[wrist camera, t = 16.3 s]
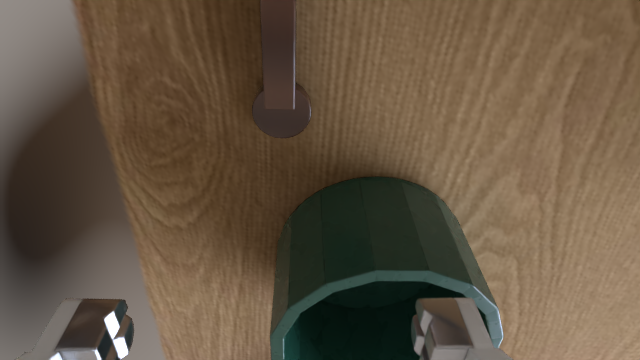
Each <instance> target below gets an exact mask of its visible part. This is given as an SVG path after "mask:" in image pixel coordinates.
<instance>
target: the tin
mask: <svg viewBox="0 0 640 360" xmlns="http://www.w3.org/2000/svg"><path fill="white" fill-rule="evenodd" d="M445 297H452V298H472V299H473V300H474V301H475V304H476V306H477V308H478V311H479V313H480V315H481V318H482V320H483V322H484V325H485V327H486V329H487V332H488V334H489V337H490V339H491V341H492V344H493V346H494V348H499V346H500V344H501V341H502V339H503V330H502V325H501V320H500V315H499V310H498V307H497V305H496V303H495V300H494V298H493V296H492V294H491V292H490V290H489V287H488V285H487V283H486V281H485V279H484V277H483V274H482V272H481V270H480V268H479V266H478V264H477V261H476V259H475V257H474V255H473V253H472V251H471V248H470V246H469V244H468V242H467V240H466V238H465V235H464V233H463V231H462V229H461V227H460V225H459V222H458V220H457V218H456V216H455V215H454V214H453V213H452V212H451V210H450V209H449V208H448V206H447V205H446V204H445V203H444V202H443V201H442V200H441V199H440V198H439V197H438V196H437V195H435V194H434V193H432V192H431V191H429V190H428V189H426V188H424V187H422V186H420V185H417V184H415V183H412V182H409V181H406V180H401V179H396V178H389V177H364V178H357V179H351V180H347V181H343V182H339V183H337V184H334V185H331V186H329V187H327V188H325V189H323V190H321V191H319V192H317V193H315V194H314V195H312V196H311V197H309V198H308V199H306V200H305V201H304V202H303V203H302V204H301V205H299V206H298V207H297V209H296V210H295V211H294V212H293V213H292V214H291V215H290V217H289V219H288V220H287V222H286V223H285V225H284V228H283V230H282V232H281V236H280V238H279V240H278V246H277V259H276V271H275V283H274V295H273V307H272V319H271V331H270V346H271V360H419V357H420V356H419V355H418V354H417V353H416V352H415V351H414V349H413V344H412V338H411V322H412V317H413V316H414V315H416V314H417V312H416V308H415V305H416V301H417V299H418V298H445Z"/></svg>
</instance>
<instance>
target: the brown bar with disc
mask: <svg viewBox="0 0 640 360" xmlns="http://www.w3.org/2000/svg"><path fill="white" fill-rule="evenodd" d="M296 6H297V0H260V14H261V39H262V65H263V85H262V86H261V87H260V88H259V90H258V91H257V93H256V95H255V98H254V102H253V106H252V114H253V118H254V121H255V123H256V124H257V126H258V127H259V128H260V129H261V130H262V131H263V132H264V133H266V134H268V135H270V136H272V137H276V138H290V137H293V136H295V135H297V134H299V133H300V132H302V131H303V130H304V129H305V128H306V126H307V125H308V123H309V121H310V117H311V102H310V98H309V96H308V94H307V92H306V91H305V89H304V88H303V87H302V86H301V85H299V84H298V83H296Z"/></svg>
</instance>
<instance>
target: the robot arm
mask: <svg viewBox="0 0 640 360" xmlns="http://www.w3.org/2000/svg"><path fill="white" fill-rule="evenodd" d="M415 308H416V312H417V314H416V315H414V316H413V317H412V322H411V338H412V344H413V349H414V351H415V352H416V353H417V354H418V355H419V356H420V357H419V360H513V359H512V358H510V357H509V356H508V355H507V354H506V353H505V352H503V351H502V350H501V349H500V348H494V346H493V344H492V341H491V339H490V337H489V334H488V332H487V329H486V327H485V325H484V322H483V320H482V318H481V315H480V313H479V311H478V308H477V306H476V304H475V301H474V300H473V299H472V298H452V297H445V298H418V299H417V301H416V305H415ZM127 309H128V306H127V304H126V301H125V300H122V299H65V300H64V301H63V302H61V303H60V305H59V307H58V308H57V310H56V311H55V313H54V315H53V317H52V318H51V320H50V321H49V323H48V325H47V326H46V328H45V330H44V331H43V333H42V335H41V336H40V338H39V340H38V341H37V343H36V344H35V346H34V348H33V349H32V351H31V352H25V353H24V354H22V355H21V356H19V357H18V358H17V359H15V360H121V359H122V358H123V357H124V356H126V355H127V354H128V353H129V350H130V348H131V345H132V342H133V336H134V326H133V325H134V324H133V321H132V318H130V317H129V316H128V315H126V311H127Z"/></svg>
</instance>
